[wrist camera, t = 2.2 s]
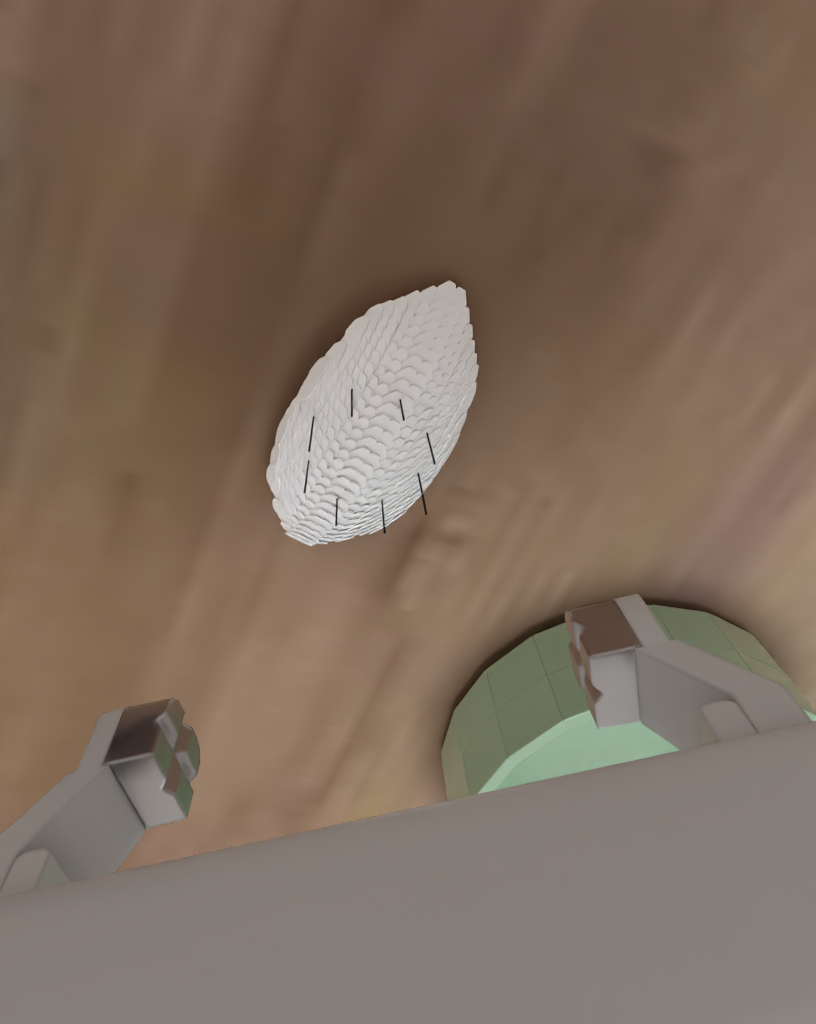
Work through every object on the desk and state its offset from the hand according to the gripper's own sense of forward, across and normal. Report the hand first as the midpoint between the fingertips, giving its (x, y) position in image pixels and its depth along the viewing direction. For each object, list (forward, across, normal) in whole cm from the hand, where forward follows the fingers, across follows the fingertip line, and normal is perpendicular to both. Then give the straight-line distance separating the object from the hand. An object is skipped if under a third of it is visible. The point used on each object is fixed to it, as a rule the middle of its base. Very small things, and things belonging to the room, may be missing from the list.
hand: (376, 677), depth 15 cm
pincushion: (+15, 0, 0) cm, 15 cm away
